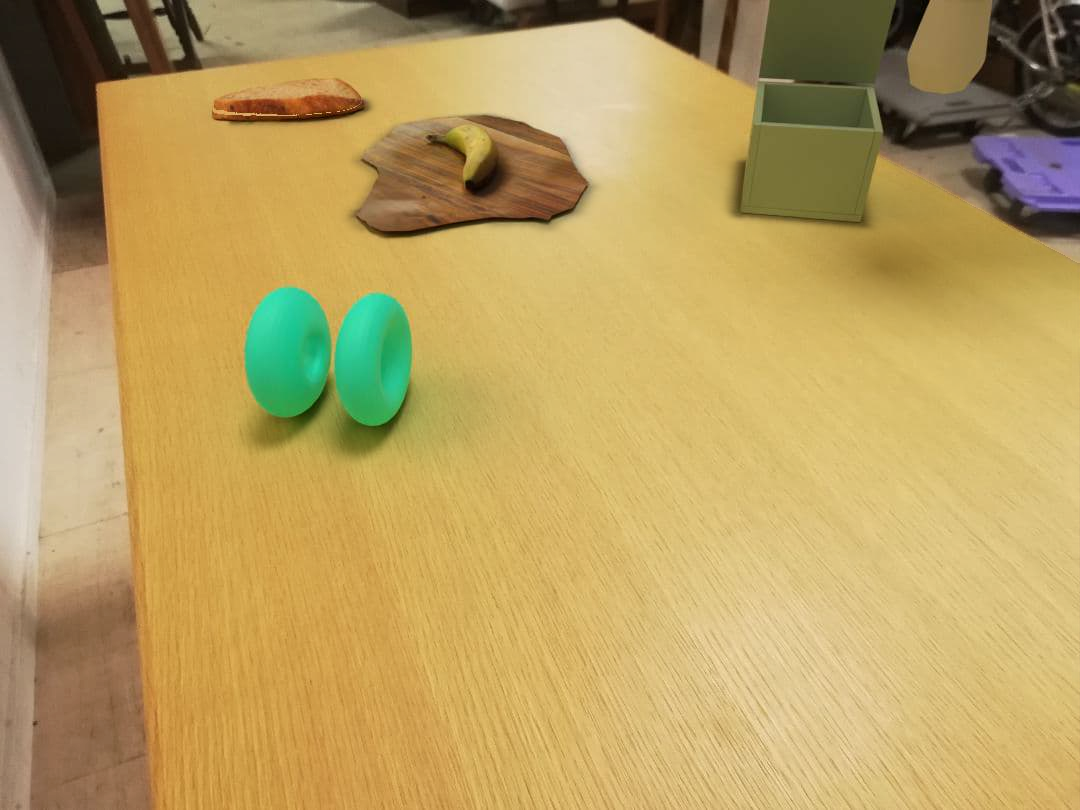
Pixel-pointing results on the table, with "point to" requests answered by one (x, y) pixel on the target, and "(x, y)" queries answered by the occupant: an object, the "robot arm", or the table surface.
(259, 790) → the table surface
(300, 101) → the bread slice
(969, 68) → the salt shaker
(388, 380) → the donuts
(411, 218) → the cutting board
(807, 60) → the box lid
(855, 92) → the storage bin
